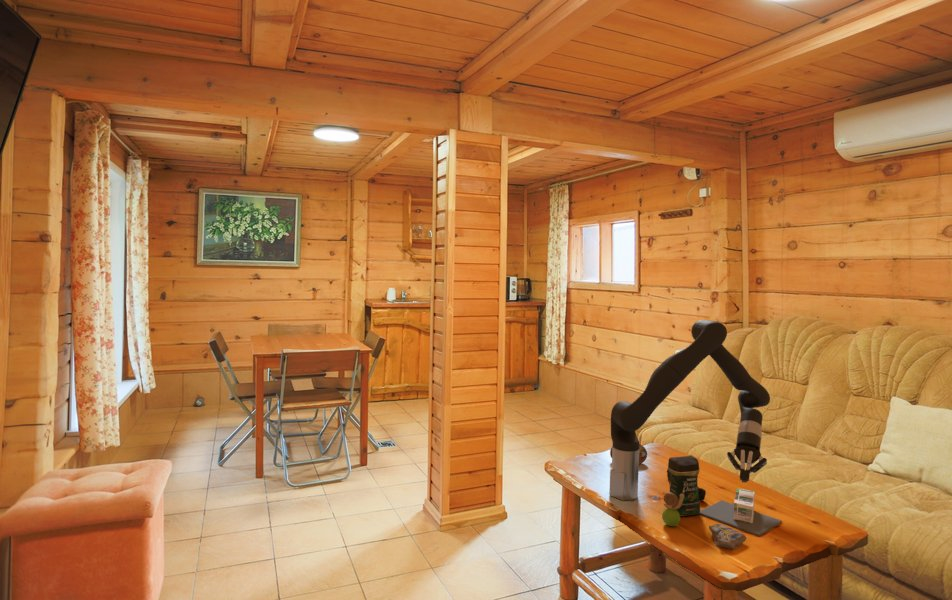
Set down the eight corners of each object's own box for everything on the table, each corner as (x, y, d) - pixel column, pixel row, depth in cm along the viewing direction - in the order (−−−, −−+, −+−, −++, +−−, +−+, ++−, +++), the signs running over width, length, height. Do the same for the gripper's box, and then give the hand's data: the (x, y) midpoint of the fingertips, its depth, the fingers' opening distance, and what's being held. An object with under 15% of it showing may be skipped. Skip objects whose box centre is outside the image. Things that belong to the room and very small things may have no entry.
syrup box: (755, 491, 191) (753, 505, 178) (754, 508, 191) (752, 524, 178) (736, 487, 193) (733, 501, 181) (735, 504, 194) (732, 520, 181)
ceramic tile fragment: (701, 521, 174) (733, 521, 174) (701, 532, 174) (732, 531, 174) (720, 541, 162) (754, 540, 162) (720, 552, 162) (753, 551, 162)
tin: (610, 464, 234) (611, 444, 233) (609, 461, 237) (609, 441, 236) (647, 464, 234) (647, 444, 233) (644, 462, 237) (645, 442, 236)
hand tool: (706, 502, 197) (706, 486, 197) (693, 502, 196) (693, 486, 196) (675, 478, 219) (676, 464, 219) (664, 478, 219) (664, 464, 219)
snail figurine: (681, 531, 173) (682, 493, 173) (659, 526, 177) (661, 488, 176) (684, 525, 178) (686, 487, 177) (664, 520, 181) (665, 483, 181)
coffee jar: (677, 518, 182) (675, 462, 181) (665, 508, 190) (663, 454, 189) (704, 515, 184) (703, 459, 183) (691, 505, 192) (690, 451, 191)
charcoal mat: (759, 536, 171) (759, 534, 171) (697, 513, 187) (697, 511, 187) (781, 522, 181) (782, 520, 181) (721, 501, 197) (721, 500, 197)
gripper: (728, 427, 200) (721, 472, 190) (770, 434, 193) (765, 480, 183) (729, 439, 205) (723, 482, 195) (770, 445, 198) (766, 490, 188)
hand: (744, 481), depth 189 cm, fingers closed
